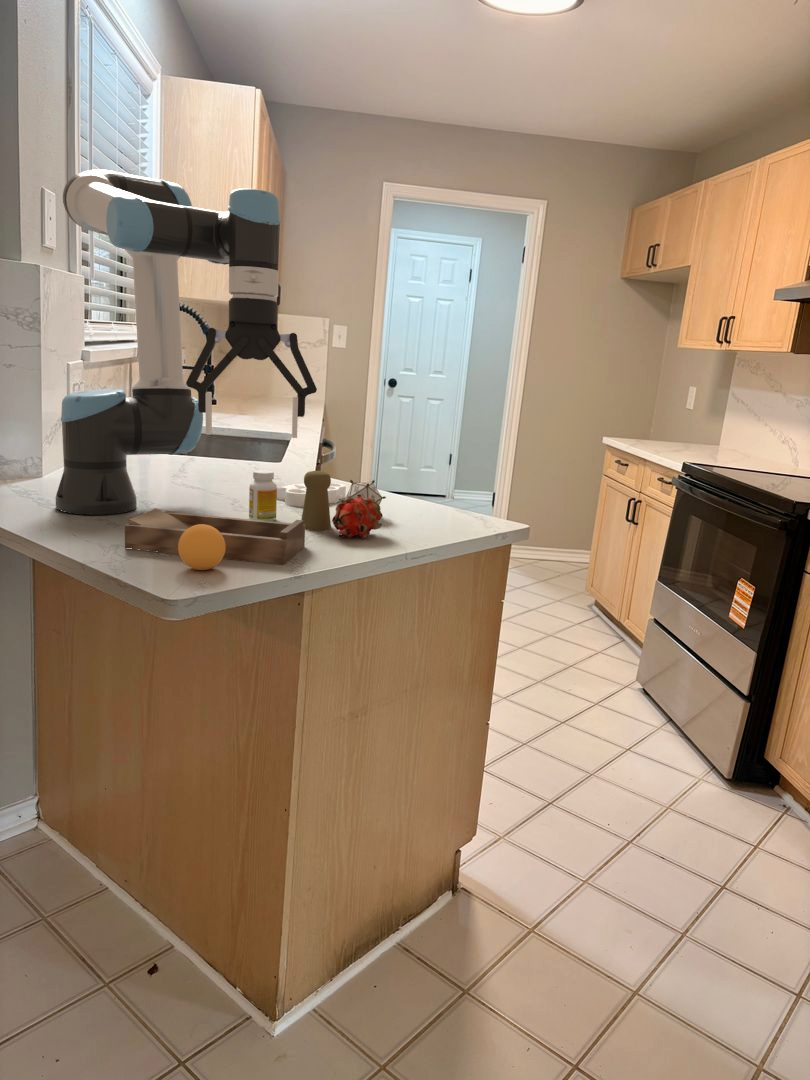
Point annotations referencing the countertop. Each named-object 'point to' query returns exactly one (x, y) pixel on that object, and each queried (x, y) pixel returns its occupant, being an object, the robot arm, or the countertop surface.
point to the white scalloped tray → (297, 492)
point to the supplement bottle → (262, 496)
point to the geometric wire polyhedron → (364, 491)
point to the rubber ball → (201, 547)
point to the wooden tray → (239, 534)
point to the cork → (316, 501)
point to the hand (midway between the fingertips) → (252, 435)
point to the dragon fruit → (357, 517)
